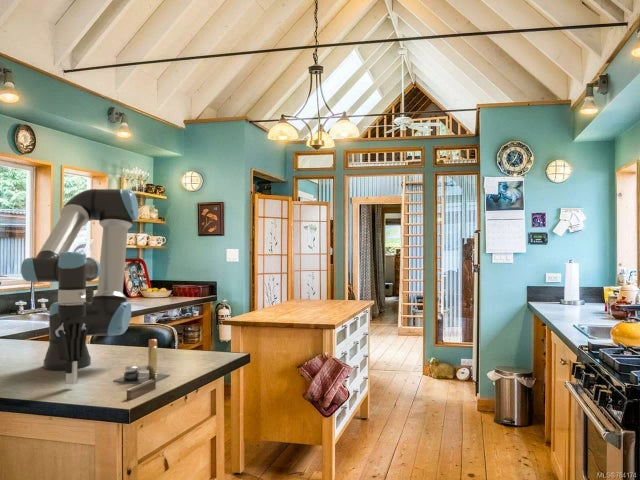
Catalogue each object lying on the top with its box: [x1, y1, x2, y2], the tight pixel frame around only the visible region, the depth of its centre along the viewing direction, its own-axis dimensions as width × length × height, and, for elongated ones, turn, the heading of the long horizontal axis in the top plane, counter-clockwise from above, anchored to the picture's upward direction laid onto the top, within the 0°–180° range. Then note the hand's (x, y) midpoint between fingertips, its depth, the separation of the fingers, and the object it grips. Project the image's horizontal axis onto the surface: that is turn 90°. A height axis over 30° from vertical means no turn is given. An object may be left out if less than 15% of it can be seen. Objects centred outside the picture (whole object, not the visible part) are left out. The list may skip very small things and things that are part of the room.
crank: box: [125, 338, 158, 373], centre depth 173 cm, size 10×4×10 cm, turn 120°
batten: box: [126, 380, 157, 401], centre depth 155 cm, size 2×12×3 cm, turn 165°
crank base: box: [112, 345, 171, 385], centre depth 173 cm, size 13×12×10 cm
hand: (71, 383), depth 161 cm, fingers closed
